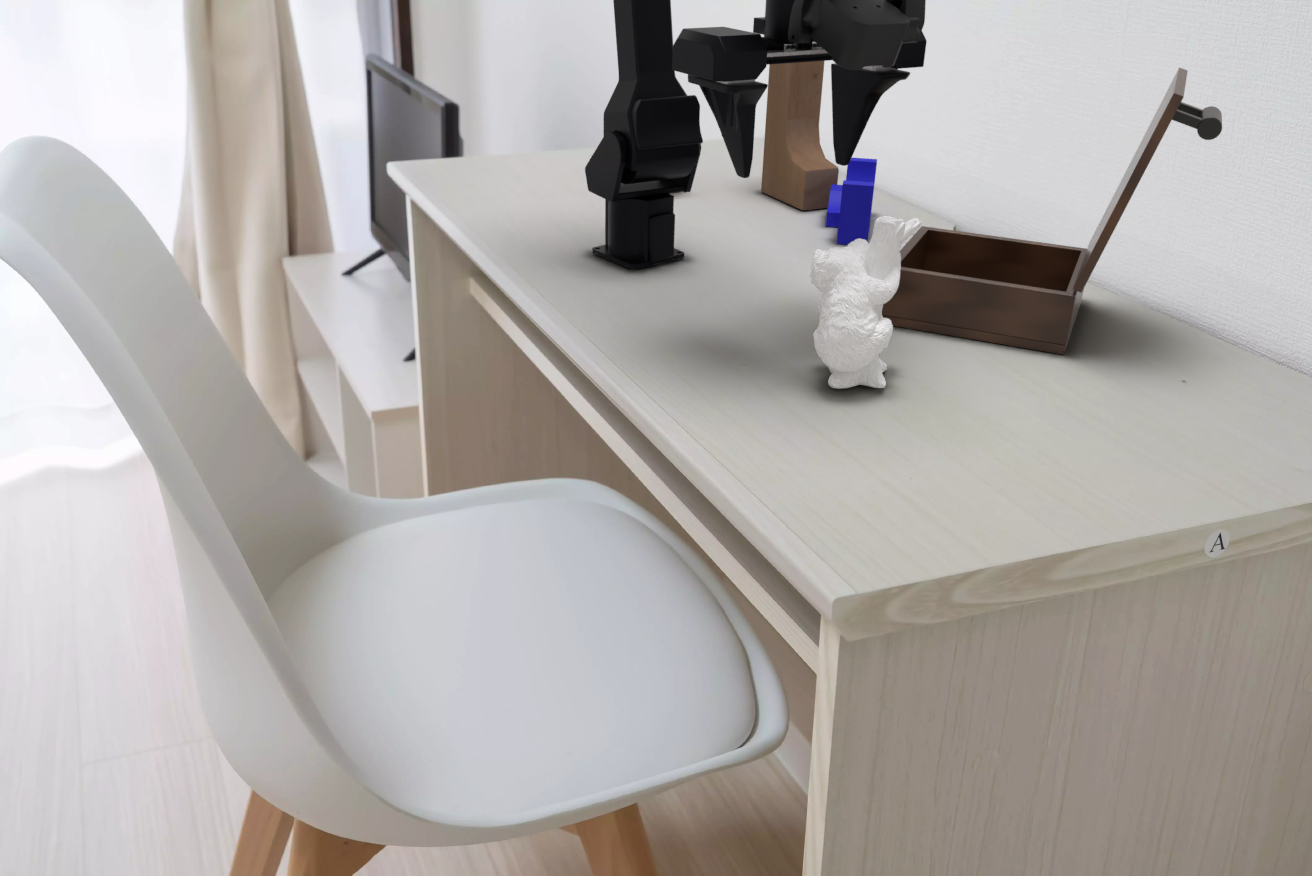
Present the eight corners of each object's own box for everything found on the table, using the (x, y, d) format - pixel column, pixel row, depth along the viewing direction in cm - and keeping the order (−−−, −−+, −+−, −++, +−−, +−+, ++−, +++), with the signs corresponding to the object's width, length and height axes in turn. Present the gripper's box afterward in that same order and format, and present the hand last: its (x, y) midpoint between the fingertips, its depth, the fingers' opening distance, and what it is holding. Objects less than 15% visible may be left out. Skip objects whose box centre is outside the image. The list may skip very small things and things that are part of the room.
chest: (878, 323, 92) (885, 267, 90) (914, 277, 103) (921, 225, 101) (1063, 355, 87) (1075, 296, 85) (1081, 302, 98) (1092, 249, 96)
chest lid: (1173, 92, 76) (1236, 115, 75) (1179, 67, 88) (1233, 87, 87) (1072, 289, 84) (1127, 312, 83) (1089, 243, 96) (1138, 262, 95)
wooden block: (836, 208, 124) (853, 36, 116) (802, 211, 122) (816, 37, 114) (792, 189, 131) (805, 26, 123) (759, 192, 129) (770, 27, 121)
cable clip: (829, 211, 123) (834, 156, 120) (870, 214, 122) (877, 159, 119) (821, 242, 112) (827, 182, 109) (867, 246, 111) (873, 186, 109)
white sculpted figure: (882, 357, 85) (901, 201, 80) (927, 393, 80) (951, 227, 74) (779, 368, 83) (792, 208, 77) (818, 406, 77) (835, 236, 72)
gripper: (771, -51, 66) (754, 211, 73) (997, -52, 75) (963, 181, 82) (671, -61, 74) (665, 174, 81) (885, -61, 83) (862, 151, 90)
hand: (793, 170), depth 83 cm, fingers open, 9 cm apart
